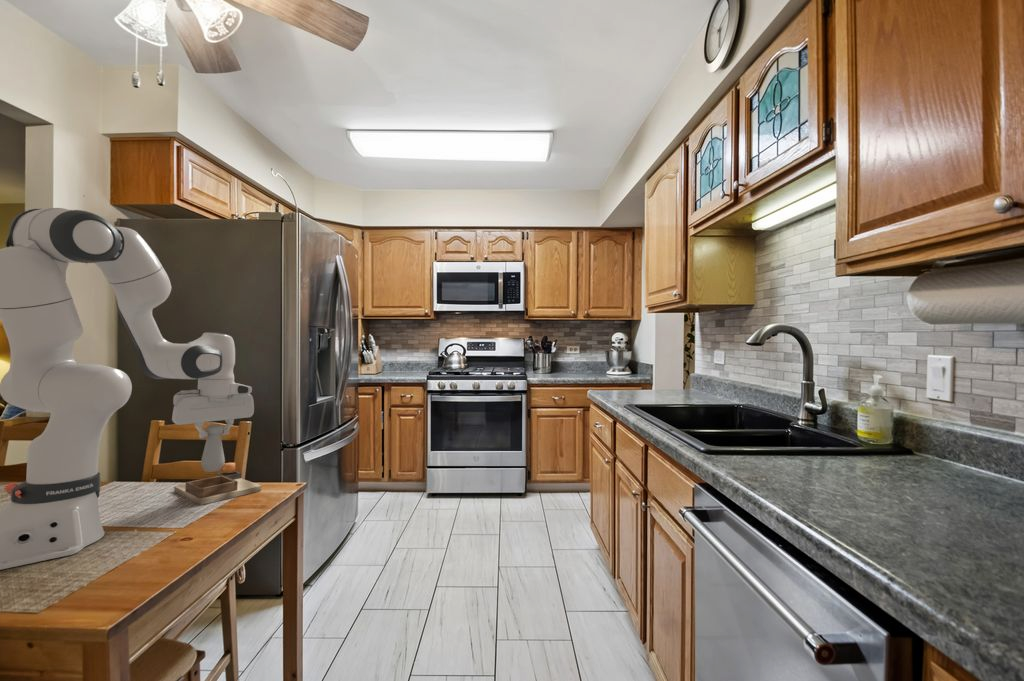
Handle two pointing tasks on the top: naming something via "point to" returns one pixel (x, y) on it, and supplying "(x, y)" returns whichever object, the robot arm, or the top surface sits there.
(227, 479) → the pallet board
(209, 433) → the salt shaker
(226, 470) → the button
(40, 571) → the top surface
